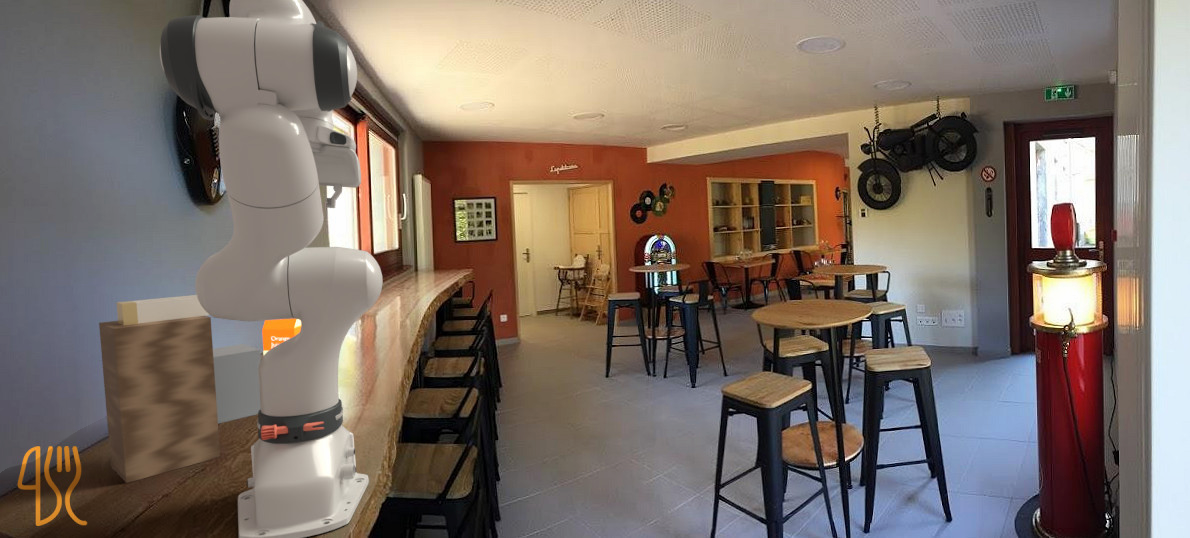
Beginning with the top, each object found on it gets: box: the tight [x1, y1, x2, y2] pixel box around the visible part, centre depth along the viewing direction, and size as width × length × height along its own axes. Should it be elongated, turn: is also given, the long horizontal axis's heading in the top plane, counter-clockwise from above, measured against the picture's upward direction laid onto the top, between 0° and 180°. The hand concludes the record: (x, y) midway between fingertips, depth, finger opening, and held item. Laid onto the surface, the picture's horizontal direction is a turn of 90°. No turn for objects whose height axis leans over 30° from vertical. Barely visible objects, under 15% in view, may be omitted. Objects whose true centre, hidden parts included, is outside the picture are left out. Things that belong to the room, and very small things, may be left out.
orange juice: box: [261, 319, 301, 356], centre depth 166 cm, size 8×9×20 cm
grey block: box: [213, 343, 262, 425], centre depth 135 cm, size 10×10×14 cm
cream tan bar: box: [115, 294, 211, 325], centre depth 110 cm, size 20×4×4 cm, turn 140°
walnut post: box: [98, 315, 221, 484], centre depth 108 cm, size 14×10×26 cm
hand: (305, 206), depth 120 cm, fingers open, 8 cm apart
